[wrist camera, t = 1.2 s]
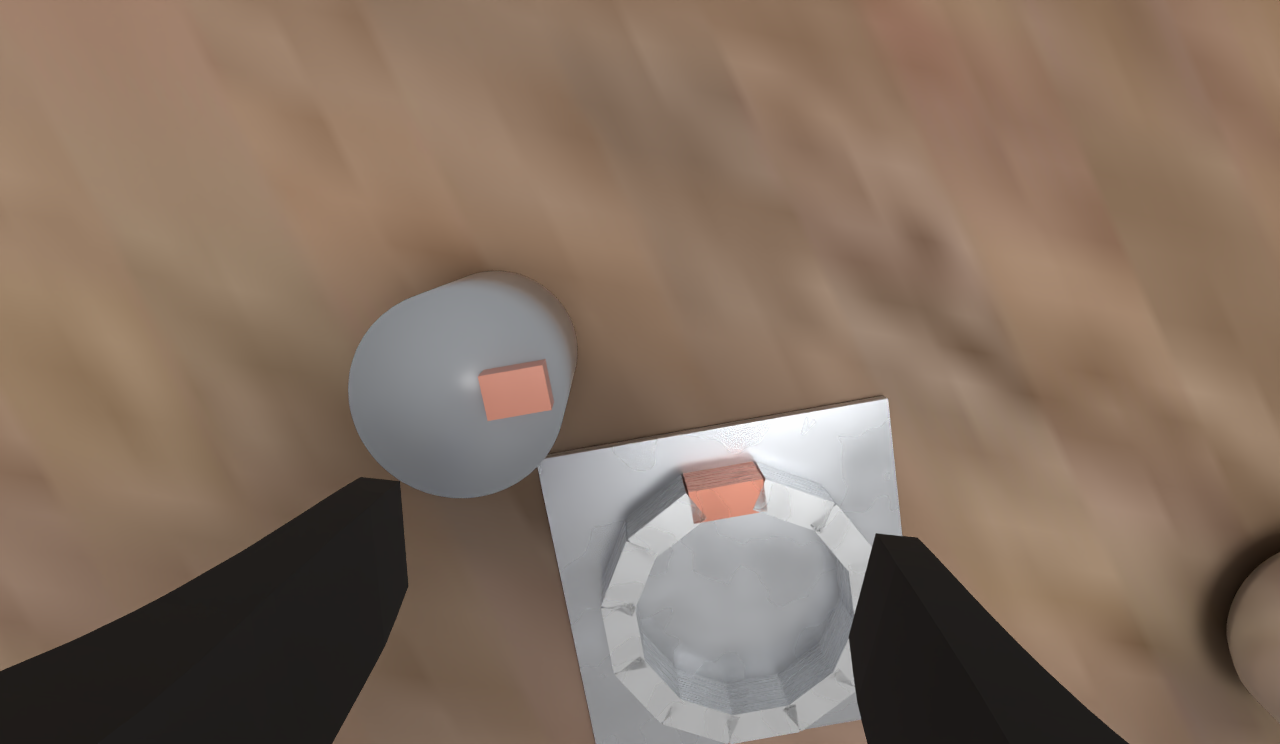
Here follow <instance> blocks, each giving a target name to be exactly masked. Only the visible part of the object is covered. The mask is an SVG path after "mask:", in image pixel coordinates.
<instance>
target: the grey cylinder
mask: <svg viewBox="0 0 1280 744" xmlns="http://www.w3.org/2000/svg"><path fill="white" fill-rule="evenodd" d="M577 351H578V346H577V338H576V334H575V330H574V326H573V324H572V321H571V319H570V317H569V315H568V313H567V311H566V310H565V308H564V307H563V305H562V304H561V303H560V301H559V300H558V299H557V298H556V297H555V296H554V295H553V294H552V293H551V292H550V291H549V290H548V289H546V288H545V287H544V286H543V285H541V284H539V283H538V282H536V281H534V280H532V279H530V278H528V277H525V276H523V275H519V274H516V273H512V272H505V271H486V272H479V273H475V274H471V275H469V276H466V277H463V278H461V279H458V280H456V281H453V282H450V283H448V284H445V285H442V286H440V287H437V288H434V289H432V290H429V291H427V292H424V293H421V294H419V295H416V296H414V297H411V298H408V299H406V300H404V301H402V302H400V303H399V304H397V305H395V306H393V307H392V308H391V309H389V310H388V311H387V312H385V313H384V314H383V315H382V316H381V317H380V318H379V319H378V320H377V321H376V322H375V323H374V324H373V325H372V326H371V327H370V328H369V330H368V331H367V332H366V334H365V335H364V337H363V338H362V340H361V342H360V344H359V346H358V348H357V350H356V353H355V355H354V358H353V361H352V365H351V369H350V374H349V384H348V394H349V405H350V410H351V415H352V418H353V421H354V424H355V427H356V430H357V432H358V434H359V436H360V438H361V440H362V442H363V443H364V445H365V446H366V448H367V449H368V451H369V452H370V454H371V455H372V456H373V457H374V458H375V460H376V461H377V462H378V463H379V464H380V465H381V466H382V467H383V468H384V469H385V470H387V471H388V472H389V473H390V474H391V475H393V476H394V477H396V478H397V479H399V480H400V481H402V482H403V483H405V484H407V485H409V486H411V487H413V488H415V489H418V490H420V491H423V492H425V493H429V494H433V495H437V496H442V497H449V498H473V497H481V496H485V495H489V494H493V493H496V492H499V491H501V490H504V489H506V488H508V487H510V486H512V485H514V484H516V483H518V482H519V481H521V480H522V479H523V478H525V477H526V476H528V475H529V474H530V473H531V472H532V471H533V470H534V469H535V468H536V467H537V466H539V464H540V463H541V462H542V461H543V459H544V458H545V457H546V456H547V454H548V453H549V451H550V449H551V448H552V446H553V444H554V442H555V440H556V438H557V436H558V433H559V431H560V427H561V424H562V420H563V416H564V412H565V408H566V405H567V401H568V397H569V393H570V389H571V385H572V381H573V377H574V373H575V369H576V363H577Z"/></svg>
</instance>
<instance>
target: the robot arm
mask: <svg viewBox="0 0 1280 744" xmlns="http://www.w3.org/2000/svg"><path fill="white" fill-rule="evenodd" d="M407 588H408V576H407V564H406V552H405V539H404V527H403V515H402V503H401V491H400V481H391V480H382V479H373V478H364V477H360V478H359V479H357V480H355V481H353V482H352V483H350V484H348V485H346V486H345V487H343V488H342V489H340V490H338V491H337V492H335V493H334V494H332V495H330V496H329V497H327V498H326V499H324V500H323V501H321V502H319V503H318V504H316V505H315V506H313V507H312V508H310V509H308V510H307V511H305V512H304V513H302V514H301V515H299V516H298V517H296V518H294V519H293V520H291V521H290V522H288V523H287V524H285V525H283V526H282V527H280V528H279V529H277V530H275V531H274V532H272V533H271V534H269V535H267V536H266V537H264V538H263V539H261V540H259V541H258V542H256V543H255V544H253V545H251V546H250V547H248V548H247V549H245V550H243V551H242V552H240V553H238V554H236V555H235V556H233V557H231V558H230V559H228V560H226V561H224V562H223V563H221V564H219V565H217V566H216V567H214V568H212V569H210V570H209V571H207V572H205V573H203V574H202V575H200V576H198V577H196V578H195V579H193V580H191V581H189V582H188V583H186V584H184V585H183V586H181V587H179V588H177V589H176V590H174V591H172V592H170V593H168V594H166V595H165V596H163V597H161V598H159V599H157V600H155V601H153V602H151V603H149V604H147V605H145V606H143V607H142V608H140V609H138V610H136V611H134V612H132V613H130V614H128V615H126V616H124V617H121V618H119V619H117V620H115V621H113V622H111V623H109V624H107V625H105V626H103V627H101V628H99V629H97V630H94V631H92V632H90V633H88V634H86V635H84V636H82V637H80V638H77V639H75V640H73V641H71V642H69V643H66V644H64V645H62V646H59V647H57V648H55V649H52V650H50V651H47V652H45V653H43V654H40V655H38V656H35V657H33V658H31V659H28V660H26V661H24V662H21V663H19V664H16V665H14V666H12V667H9V668H7V669H5V670H2V671H0V744H332V743H333V741H334V739H335V737H336V735H337V733H338V732H339V730H340V728H341V726H342V724H343V723H344V721H345V719H346V717H347V715H348V713H349V712H350V710H351V708H352V706H353V704H354V703H355V701H356V699H357V697H358V695H359V693H360V692H361V690H362V688H363V686H364V684H365V682H366V681H367V679H368V677H369V675H370V673H371V671H372V669H373V668H374V666H375V664H376V662H377V660H378V658H379V656H380V654H381V652H382V651H383V649H384V647H385V644H386V642H387V640H388V637H389V635H390V632H391V630H392V627H393V625H394V622H395V620H396V617H397V615H398V612H399V609H400V607H401V604H402V601H403V599H404V596H405V593H406V591H407ZM849 644H850V652H851V661H852V669H853V677H854V684H855V691H856V698H857V704H858V708H859V712H860V716H861V720H862V724H863V728H864V732H865V736H866V739H867V743H868V744H1129V743H1127V742H1126V741H1125V740H1124V739H1123V738H1121V737H1120V736H1119V735H1118V734H1116V733H1115V732H1114V731H1113V730H1112V729H1110V728H1109V727H1108V726H1107V725H1106V724H1105V723H1103V722H1102V721H1101V720H1100V719H1099V718H1098V717H1097V716H1095V715H1094V714H1093V713H1092V712H1091V711H1090V710H1088V709H1087V708H1086V707H1085V706H1084V705H1083V704H1082V703H1081V702H1080V701H1079V700H1077V699H1076V698H1075V697H1074V696H1073V695H1072V694H1071V693H1070V692H1069V691H1068V690H1067V689H1066V688H1065V687H1063V686H1062V685H1061V684H1060V683H1059V682H1058V681H1057V680H1056V679H1055V678H1054V677H1053V676H1052V675H1050V674H1049V673H1048V672H1047V671H1046V670H1045V669H1044V668H1043V667H1042V666H1041V665H1040V664H1039V663H1038V662H1037V661H1036V660H1035V659H1034V658H1033V657H1032V656H1031V655H1030V654H1029V653H1028V652H1027V651H1026V650H1025V649H1023V648H1022V647H1021V646H1020V645H1019V644H1018V643H1017V642H1016V640H1015V639H1014V638H1013V637H1012V636H1011V635H1010V634H1009V633H1008V632H1007V631H1006V630H1005V629H1004V628H1003V627H1002V626H1001V625H1000V624H999V623H998V622H997V621H996V620H995V619H994V618H993V617H992V616H991V615H990V614H989V613H988V612H987V611H986V610H985V609H984V608H983V607H982V605H981V604H980V603H979V602H978V601H977V600H976V599H975V598H974V597H973V596H972V595H971V594H970V593H969V592H968V591H967V590H966V588H965V587H964V586H963V585H962V584H961V583H960V582H959V581H958V580H957V579H956V578H955V577H954V576H953V575H952V573H951V572H950V571H949V570H948V569H947V568H946V567H945V566H944V565H943V564H942V563H941V562H940V561H939V559H938V558H937V557H936V556H935V555H934V554H933V553H932V552H931V551H930V550H929V549H928V548H927V547H926V546H925V545H924V544H923V543H922V542H921V541H920V540H919V539H918V538H915V537H906V536H897V535H888V534H878V533H876V534H875V538H874V542H873V545H872V549H871V553H870V557H869V561H868V565H867V568H866V572H865V576H864V580H863V584H862V587H861V591H860V595H859V599H858V603H857V606H856V610H855V614H854V618H853V622H852V625H851V629H850V633H849Z"/></svg>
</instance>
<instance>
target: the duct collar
mask: <svg viewBox="0 0 1280 744" xmlns="http://www.w3.org/2000/svg"><path fill="white" fill-rule="evenodd" d="M537 467H538V472H539V477H540V482H541V486H542V491H543V496H544V501H545V505H546V510H547V515H548V519H549V524H550V529H551V534H552V538H553V543H554V548H555V553H556V557H557V562H558V567H559V572H560V576H561V581H562V586H563V591H564V595H565V600H566V605H567V609H568V614H569V619H570V624H571V628H572V633H573V638H574V643H575V647H576V652H577V657H578V662H579V666H580V671H581V676H582V681H583V685H584V690H585V695H586V700H587V704H588V709H589V714H590V718H591V723H592V728H593V733H594V737H595V742H596V744H724V743H726V744H728V743H730V744H734V743H740V742H746V741H751V740H757V739H763V738H768V737H774V736H780V735H785V734H791V733H797V732H799V730H801V731H803V730H804V729H809V728H815V727H821V726H826V725H832V724H838V723H843V722H849V721H855V720H860V719H861V716H860V712H859V708H858V704H857V698H856V691H855V684H854V677H853V669H852V661H851V652H850V644H849V633H850V629H851V625H852V622H853V618H854V614H855V610H856V606H857V603H858V599H859V595H860V591H861V587H862V584H863V580H864V576H865V572H866V568H867V565H868V561H869V557H870V553H871V549H872V545H873V542H874V538H875V534H876V533H878V534H888V535H897V536H902V530H901V520H900V511H899V501H898V491H897V482H896V472H895V462H894V453H893V443H892V433H891V424H890V414H889V404H888V398H886V397H885V396H878V397H872V398H866V399H861V400H855V401H849V402H843V403H838V404H832V405H826V406H821V407H815V408H809V409H804V410H798V411H792V412H786V413H781V414H775V415H769V416H764V417H758V418H752V419H747V420H741V421H735V422H729V423H724V424H718V425H712V426H707V427H701V428H695V429H690V430H684V431H678V432H673V433H667V434H661V435H655V436H650V437H644V438H638V439H633V440H627V441H621V442H616V443H610V444H604V445H598V446H593V447H587V448H581V449H576V450H570V451H564V452H559V453H553V454H547V456H546V457H545V458H544V459H543V461H542V462H541V463H540V464H539V466H537Z"/></svg>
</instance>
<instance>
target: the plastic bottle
mask: <svg viewBox="0 0 1280 744" xmlns="http://www.w3.org/2000/svg"><path fill="white" fill-rule="evenodd" d="M1227 641H1228V646H1229V651H1230V654H1231V657H1232V660H1233V664H1234V667H1235V669H1236V672H1237V674H1238V676H1239V678H1240V681H1241V682H1242V684H1243V685H1244V686H1245V687H1246V689H1247V690H1248V691H1249V693H1250V694H1251V695H1252V696H1253V697H1254V698H1255V699H1256V700H1257V701H1258V702H1259V703H1260V704H1261V705H1262V706H1263V707H1264V708H1265V709H1266V710H1267V711H1268V712H1269V713H1270V714H1271V715H1272V717H1273V718H1274V719H1275V720H1276V721H1277V722H1278V723H1279V724H1280V552H1279V553H1277V554H1275V555H1273V556H1271V557H1270V558H1268V559H1267V560H1266V561H1264V562H1263V563H1262V564H1260V565H1259V566H1258V567H1256V568H1255V570H1254V571H1253V572H1252V573H1251V574H1250V575H1249V576H1248V577H1247V578H1246V579H1245V581H1244V582H1243V584H1242V585H1241V587H1240V588H1239V590H1238V591H1237V593H1236V595H1235V597H1234V599H1233V602H1232V604H1231V606H1230V610H1229V615H1228V619H1227Z"/></svg>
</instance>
